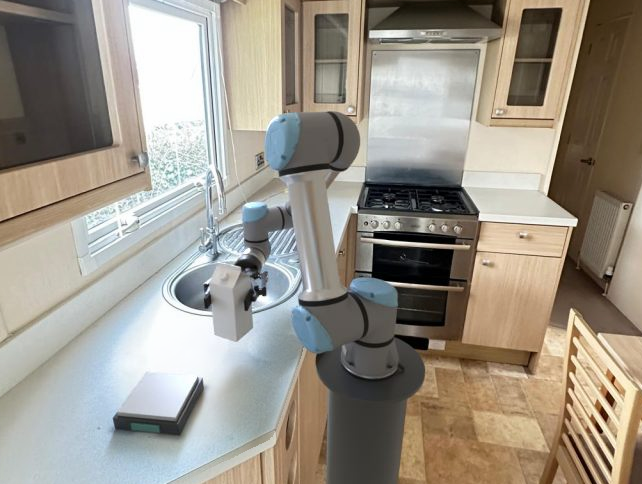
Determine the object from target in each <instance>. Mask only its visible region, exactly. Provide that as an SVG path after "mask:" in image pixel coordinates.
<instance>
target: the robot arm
mask: <svg viewBox="0 0 642 484" xmlns="http://www.w3.org/2000/svg"><path fill="white" fill-rule="evenodd" d="M360 148H361V134H360V131H359V127H358V126H357V124H356V123H355V122H354V120H353V119H352V118H350V117H349V116H348V115H346V114H345V113H342V112H340V111H334V110H327V111H293V112H288V113H281V114H278V115H276V116H274V117H273V118H272V119H271V121H270V122H269V124H268V126H267V129H266V132H265V137H264V155H265V159H266V162H267V164H268V166H269V167H270V169H272V170H274V171H277V173H278V178H279V180H281V181H282V182H283V183H285V184H286V186H287V193H288V199H287V201H286V202H285V204H283V205H278V206H277V205H276V206H269V207H268V205H267V203H265V202H262V201H250V202H247V203H245V204H244V205H243V206H242V213H241V215H242V218H241V221H242V229H243V244H244V245H243V246H244V249H243V251H242V252H241V254H240V255H239V256H238V258H237V260H236V261H235V263H234V264H233V265H234V266H238V267H241V271H242V272H243V273H245V274H247V275H248V276H250V284H251V288H250V290H249V292H248V294H247V296H246V298H245V300H244V311H248V309H249V307H250V305H251V303H252V304H253V303H255V302H257V300H258V298H259V297H260V296H262V297H267V296H268V293H267V283H268V281H269V271H266V270H263V268H264V266H265V264H266V262H268V261H267V260H268V259H270V255H271V252H272V243H271V242H270V240H269V239H270V238H269V233H272V232H279V231H283V230H284V231H285V230H288V229H293V232H294V238H295V244H296V252H297V257H298V265H299V271H300V278H301V285H302V289H301V290H300V291H299V292H298V294H297V300H298V301H297V302H298V305H296V306H294V307H293V308H292V310H291V314H290V320H291V325H292V328H293V332H294V333H295V335H296V337H297V339H298V341H299V342H300V343H301V346H303V348H305V349H306V350H307V351H308V352H310V353H312V354H315V355H316V354H320V353H323V352H326V351H332V350H333V349H335V348H338V347H340V346H342V351H341V358H340V361H341V365H342V367H343V369H344V370H345V371H346V372H347V373H349V374H350V375H352V376H353V377H356V378H358V379H361V380H366V381H382V380H386V379H388V378H390V377H392V376H394V375H395V374H396V372H397V371H398V368H400V369H401V370H403V371H404V370H405V368H404V367H403V366H402V365H401V364H400V363H399V355H398V352H397V348H396V345H395V341H394V337H395V335H396V333H395V332H396V324H397V315H398V307H399V302H398V291H397V289H396V288H395V286H394V285H392V284H391V283H389V282H387V281H385V280H383V279H379V278H375V277H365V276H364V277H357V278H354V279H352V280H351V282H350V285H349V290H348V287H347V286H345V285H344V284H342V283H341V282H340V275H339V269H338V262H337V255H336V248H335V247H336V246H335V241H334V240H335V239H334V233H333V232H334V231H333V226H332V220H331V213H330V206H329V197H328V192H327V191H328V189H329V188H330V186H331V185H332V183H333V182H334V181H335V180H336V178H337V177H338V176H339V174H340V173H343V172H346V171H347V170H348V169H349V168H350V167H351V165H352V164H353V163H354V162H355V161H356V159H357V157H358V154H359V152H360ZM262 270H263V272H262ZM210 279H211V277H210V278H209V279H207V280H206V281H205V282H203V284H202V285H203V293H204V297H203V305H204V306H203V307H204V309H205V310H206V309H207V310H208V309H209V308H210V306H211V296H210V286H209V281H210ZM258 279H259V281H260V283H261V287H260V285H259V284H258V283H257V280H258Z"/></svg>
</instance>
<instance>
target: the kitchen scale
mask: <svg viewBox="0 0 642 484" xmlns="http://www.w3.org/2000/svg"><path fill="white" fill-rule="evenodd" d="M204 387H205V386H204V378H203V377H199V375H189V374H180V373H179V374H178V373H167V372H153V371H146V372H145V373H144V374H143V376H142V377H141V378H140V380H139V381H138V383H137V384H136V385H135V387H134V388H133V389H132V391H131V392H130V394H129V395H128V396H127V398H126V399H125V400H124V402H123V403H122V405H121V406H120V407H119V408H118V410H117V411H116V413H115V414H114V415H113V417H112V421H113V426H114V430H120V431H128V432H129V431H130V432H139V433H140V432H141V433H149V434H158V435H169V436H178V437H179V436H181V434H182V432H183V430H184V428H185V426H186V424H187V422H188V421H189V418H190V416H191V414H192V412H193V410H194V408H195V406H196V404H197V403H198V400H199V398H200V396H201V395H202V393H203V390H204Z"/></svg>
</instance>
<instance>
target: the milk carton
mask: <svg viewBox="0 0 642 484" xmlns="http://www.w3.org/2000/svg"><path fill="white" fill-rule="evenodd" d="M210 278H211V279H210ZM210 278H209V279H210V281H209V286H210V296H211V305H210V306H211V314H212V324H213V325H212V327H213V334H214V336H217V337H219V338H222V339H226V340H229V341H231V342H234V343H238V342H239V341H240V340H241V339H243V337H245V336H246V335H247V334H248V333H249V332H250V331H252V330H253V329H254V320H253V306H252V305H253V302H252V303H251V305H250V307H249V309H248V311H244V300H245V298H246V296H247V294H248V292H249V290H250V288H251V284H250V276H248V275H247V274H245V273H243V272H242V271H241V267H238V266H234V264H229V263H226V262H222V261H221V262H220V261H216V267H215V269H214V272H213V273H212V275H211V277H210Z"/></svg>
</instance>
